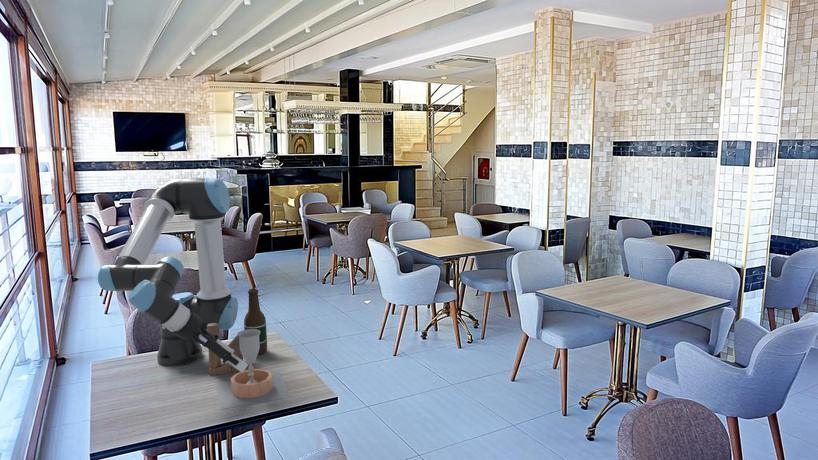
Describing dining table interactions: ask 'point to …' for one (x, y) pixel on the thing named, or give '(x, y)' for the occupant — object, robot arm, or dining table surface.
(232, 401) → the slate board
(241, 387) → the ceramic collar
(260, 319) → the beer bottle
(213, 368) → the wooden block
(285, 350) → the dining table surface
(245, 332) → the chalice
